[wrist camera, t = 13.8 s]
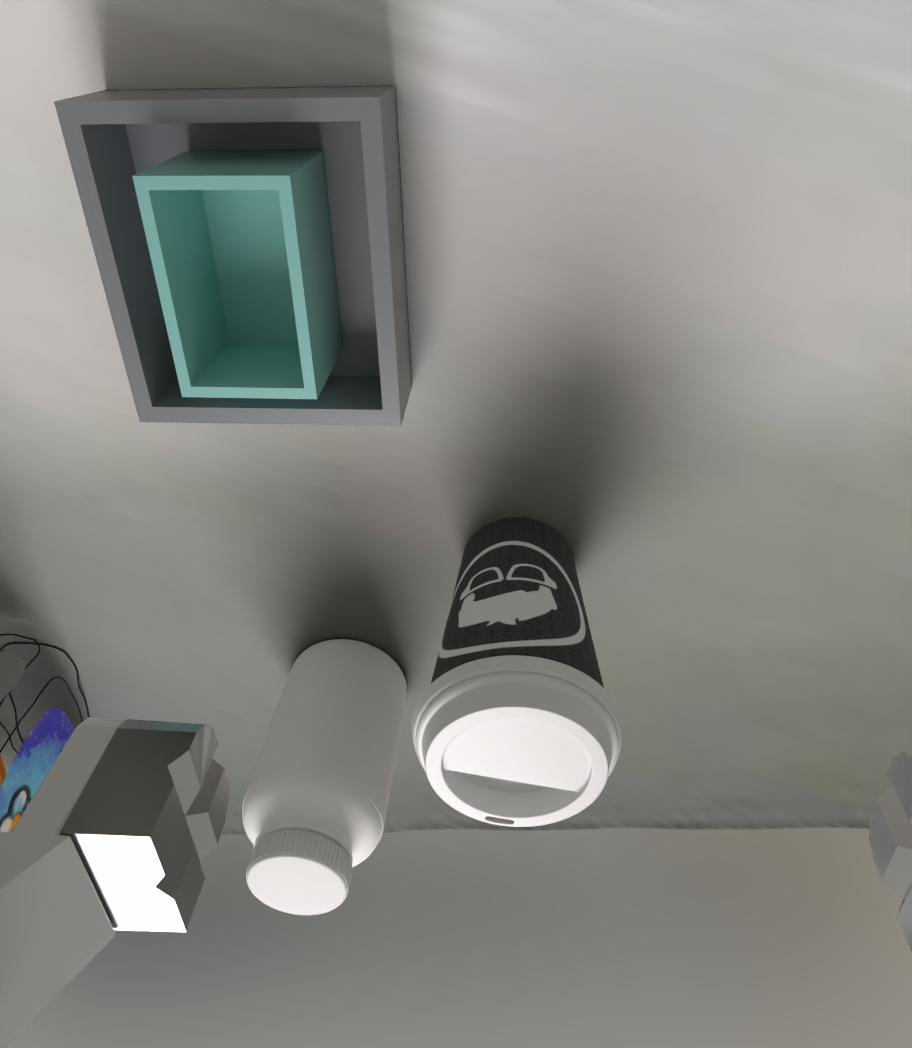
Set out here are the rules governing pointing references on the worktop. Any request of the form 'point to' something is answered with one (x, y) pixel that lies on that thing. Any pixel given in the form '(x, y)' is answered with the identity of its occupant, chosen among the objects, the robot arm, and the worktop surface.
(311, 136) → the large crate
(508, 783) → the coffee cup
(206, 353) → the small crate
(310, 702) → the pill bottle
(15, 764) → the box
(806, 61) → the worktop surface
